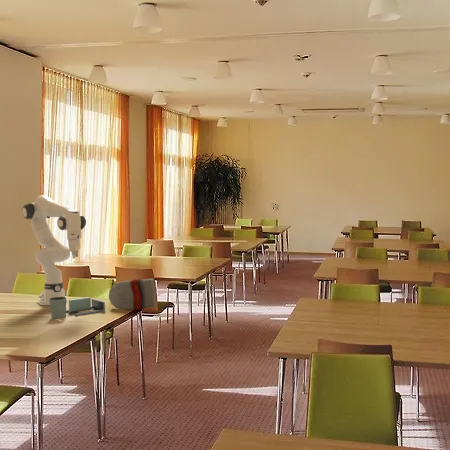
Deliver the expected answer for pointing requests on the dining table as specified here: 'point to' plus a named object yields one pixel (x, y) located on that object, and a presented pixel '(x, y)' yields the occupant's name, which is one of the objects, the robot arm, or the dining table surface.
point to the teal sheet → (79, 304)
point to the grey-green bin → (58, 307)
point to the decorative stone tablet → (133, 294)
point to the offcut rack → (96, 305)
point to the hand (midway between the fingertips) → (75, 257)
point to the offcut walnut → (84, 311)
